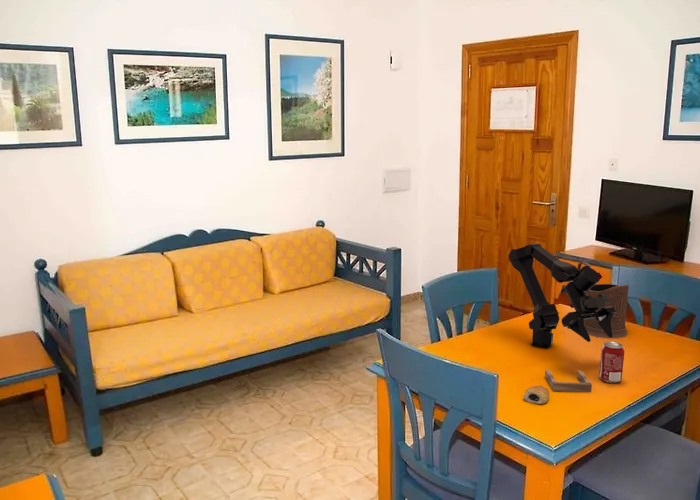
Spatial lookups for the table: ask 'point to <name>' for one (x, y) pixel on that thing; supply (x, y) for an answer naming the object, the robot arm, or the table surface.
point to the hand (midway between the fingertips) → (600, 339)
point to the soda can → (611, 362)
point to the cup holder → (616, 299)
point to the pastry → (537, 394)
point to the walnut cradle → (569, 383)
